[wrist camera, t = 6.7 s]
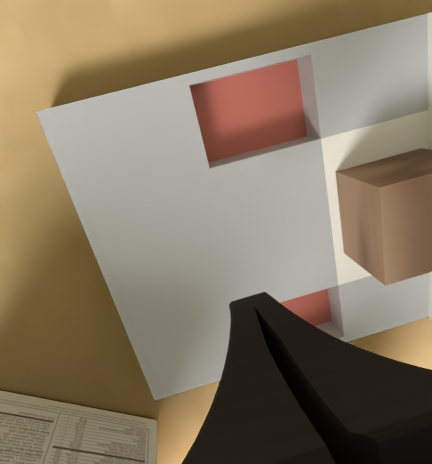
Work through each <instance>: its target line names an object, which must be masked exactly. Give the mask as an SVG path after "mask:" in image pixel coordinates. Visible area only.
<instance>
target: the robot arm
mask: <svg viewBox="0 0 432 464" xmlns="http://www.w3.org/2000/svg"><path fill="white" fill-rule="evenodd" d="M229 308H230V317H231V321H230V335H229V344H228V349H227V355H226V360H225V364H224V369H223V372H222V376H221V379H220V383H219V386H218V389H217V391H216V394H215V397H214V400H213V403H212V405H211V408H210V410H209V412H208V414H207V417H206V419H205V421H204V423H203V425H202V427H201V429H200V431H199V434H198V436H197V438H196V440H195V441H194V443H193V445H192V447H191V449H190V450H189V452H188V454H187V455H186V457H185V459H184V461H183V462H182V464H432V370H430V369H425V368H421V367H417V366H414V365H410V364H406V363H403V362H399V361H396V360H392V359H389V358H386V357H383V356H380V355H377V354H375V353H372V352H369V351H366V350H364V349H361V348H358V347H356V346H353V345H351V344H349V343H347V342H344V341H342V340H340V339H338V338H336V337H334V336H332V335H330V334H328V333H326V332H324V331H322V330H321V329H319V328H317V327H315V326H314V325H312V324H310V323H309V322H307V321H305V320H304V319H302V318H301V317H299V316H298V315H296V314H295V313H293V312H292V311H290V310H289V309H288V308H286V307H285V306H283V305H282V304H281V303H279V302H278V301H277V300H276V299H274V298H273V297H272V296H271V295H269V294H268V293H266V292H262V293H258V294H255V295H252V296H248V297H245V298H241V299H238V300H235V301H231V303H230V304H229Z"/></svg>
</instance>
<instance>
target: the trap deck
mask: <svg viewBox="0 0 432 464" xmlns="http://www.w3.org/2000/svg"><path fill="white" fill-rule="evenodd" d="M36 114H37V116H38V119H39V121H40V123H41V126H42V128H43V131H44V133H45V136H46V138H47V140H48V143H49V145H50V148H51V150H52V153H53V155H54V157H55V160H56V162H57V165H58V167H59V170H60V172H61V175H62V177H63V179H64V182H65V184H66V187H67V189H68V192H69V194H70V196H71V199H72V201H73V204H74V206H75V209H76V211H77V213H78V216H79V218H80V221H81V223H82V226H83V228H84V230H85V233H86V235H87V238H88V240H89V243H90V245H91V248H92V250H93V252H94V255H95V257H96V260H97V262H98V265H99V267H100V269H101V272H102V274H103V277H104V279H105V282H106V284H107V286H108V289H109V291H110V294H111V296H112V299H113V301H114V304H115V306H116V308H117V311H118V313H119V316H120V318H121V321H122V323H123V325H124V328H125V330H126V333H127V335H128V338H129V340H130V342H131V345H132V347H133V350H134V352H135V355H136V357H137V359H138V362H139V364H140V367H141V369H142V372H143V374H144V377H145V379H146V381H147V384H148V386H149V389H150V391H151V394H152V396H153V398H154V401H156V400H159V399H163V398H166V397H169V396H172V395H176V394H179V393H182V392H185V391H189V390H192V389H195V388H199V387H202V386H205V385H208V384H212V383H215V382H218V381H220V379H221V376H222V372H223V369H224V364H225V360H226V355H227V349H228V344H229V335H230V321H231V317H230V308H229V304H230V303H231V301H235V300H238V299H241V298H245V297H248V296H252V295H255V294H258V293H262V292H266V293H268V294H269V295H271V296H272V297H273V298H274V299H276V300H277V301H278V302H279V303H281V304H282V305H283V306H285V307H286V308H288V309H289V310H290V311H292V312H293V313H295V314H296V315H298V316H299V317H301V318H302V319H304V320H305V321H307V322H309V323H310V324H312V325H314V326H315V327H317V328H319V329H321V330H322V331H324V332H326V333H328V334H330V335H332V336H334V337H336V338H338V339H340V340H342V341H344V342H349V341H352V340H355V339H359V338H362V337H365V336H368V335H372V334H375V333H378V332H382V331H385V330H388V329H391V328H395V327H398V326H401V325H404V324H408V323H411V322H414V321H418V320H421V319H424V318H427V317H429V318H431V319H432V272H430V273H426V274H423V275H420V276H416V277H413V278H409V279H406V280H403V281H399V282H396V283H393V284H389V285H386V286H385V285H384V284H382V283H381V282H380V281H379V280H377V279H376V278H375V277H373V276H372V275H371V274H370V273H368V272H367V271H366V270H365V269H363V268H362V267H361V266H360V265H358V264H357V263H356V262H355V261H353V260H352V259H351V258H350V257H348V256H347V255H346V254H344V248H343V239H342V230H341V220H340V211H339V201H338V192H337V183H336V173H335V172H336V171H340V170H344V169H347V168H351V167H354V166H358V165H362V164H365V163H369V162H373V161H376V160H380V159H384V158H387V157H391V156H394V155H398V154H402V153H405V152H409V151H413V150H416V149H420V148H423V149H430V150H432V12H430V13H427V14H423V15H419V16H415V17H411V18H407V19H403V20H399V21H395V22H391V23H387V24H383V25H379V26H375V27H371V28H367V29H363V30H359V31H355V32H351V33H347V34H343V35H339V36H335V37H331V38H327V39H323V40H319V41H315V42H311V43H307V44H303V45H299V46H295V47H291V48H287V49H283V50H279V51H275V52H271V53H267V54H263V55H259V56H255V57H251V58H247V59H243V60H239V61H235V62H231V63H227V64H223V65H219V66H216V67H212V68H208V69H204V70H200V71H196V72H192V73H188V74H184V75H180V76H176V77H172V78H168V79H164V80H160V81H156V82H152V83H148V84H144V85H140V86H136V87H132V88H128V89H124V90H120V91H116V92H112V93H108V94H104V95H100V96H96V97H92V98H88V99H84V100H80V101H76V102H72V103H68V104H64V105H60V106H56V107H52V108H48V109H44V110H40V111H36Z"/></svg>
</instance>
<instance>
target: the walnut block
mask: <svg viewBox="0 0 432 464" xmlns="http://www.w3.org/2000/svg"><path fill="white" fill-rule="evenodd" d="M335 173H336V183H337V192H338V201H339V211H340V220H341V230H342V239H343V248H344V254H346V255H347V256H348V257H350V258H351V259H352V260H353V261H355V262H356V263H357V264H358V265H360V266H361V267H362V268H363V269H365V270H366V271H367V272H368V273H370V274H371V275H372V276H373V277H375V278H376V279H377V280H379V281H380V282H381V283H382V284H384V285H385V286H386V285H389V284H393V283H396V282H399V281H403V280H406V279H409V278H413V277H416V276H420V275H423V274H426V273H430V272H432V150H430V149H423V148H420V149H416V150H413V151H409V152H405V153H402V154H398V155H394V156H391V157H387V158H384V159H380V160H376V161H373V162H369V163H365V164H362V165H358V166H354V167H351V168H347V169H344V170H340V171H336V172H335Z"/></svg>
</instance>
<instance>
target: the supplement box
mask: <svg viewBox="0 0 432 464" xmlns="http://www.w3.org/2000/svg"><path fill="white" fill-rule="evenodd" d="M157 426H158V424H157V421H156V420H153V419H148V418H143V417H138V416H132V415H127V414H122V413H117V412H111V411H106V410H101V409H96V408H90V407H85V406H80V405H75V404H69V403H64V402H59V401H54V400H48V399H43V398H38V397H32V396H27V395H22V394H16V393H11V392H6V391H0V464H157Z"/></svg>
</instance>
